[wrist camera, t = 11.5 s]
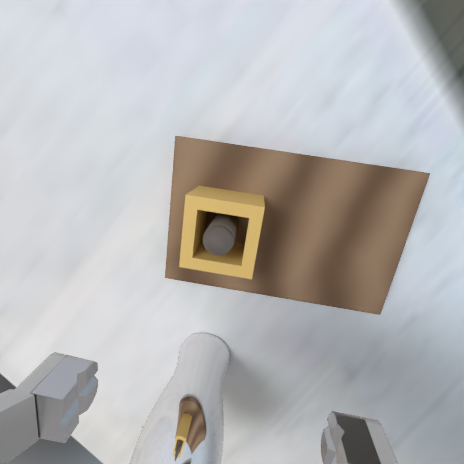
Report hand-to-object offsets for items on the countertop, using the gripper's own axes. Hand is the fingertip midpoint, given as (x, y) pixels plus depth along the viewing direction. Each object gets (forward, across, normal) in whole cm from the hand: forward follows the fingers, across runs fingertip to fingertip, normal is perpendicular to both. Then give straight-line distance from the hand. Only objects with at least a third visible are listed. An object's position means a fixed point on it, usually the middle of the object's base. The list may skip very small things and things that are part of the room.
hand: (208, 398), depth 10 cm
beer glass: (+20, +2, +16) cm, 25 cm away
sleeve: (+18, +2, -1) cm, 18 cm away
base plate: (+20, -4, -1) cm, 20 cm away
